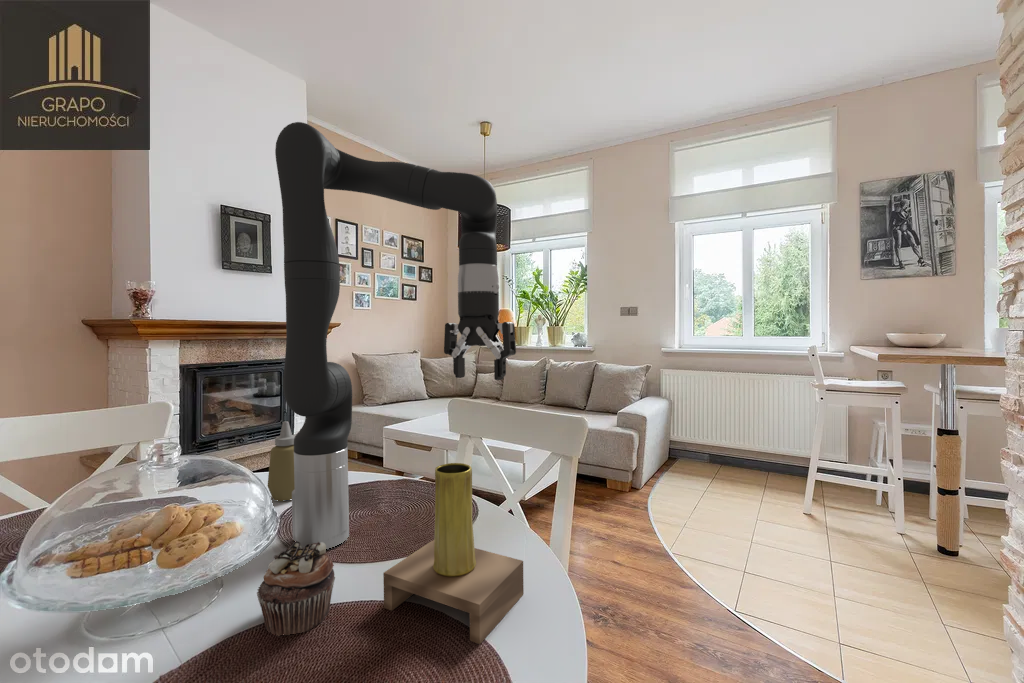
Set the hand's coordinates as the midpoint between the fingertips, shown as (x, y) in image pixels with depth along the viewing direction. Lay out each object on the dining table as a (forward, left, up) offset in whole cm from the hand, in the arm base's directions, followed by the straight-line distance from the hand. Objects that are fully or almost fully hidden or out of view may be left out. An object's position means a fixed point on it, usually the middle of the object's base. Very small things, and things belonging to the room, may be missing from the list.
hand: (479, 378), depth 83 cm
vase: (+7, -18, -25) cm, 32 cm away
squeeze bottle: (-52, -3, -30) cm, 60 cm away
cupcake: (-10, -31, -30) cm, 45 cm away
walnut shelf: (+7, -18, -30) cm, 36 cm away
